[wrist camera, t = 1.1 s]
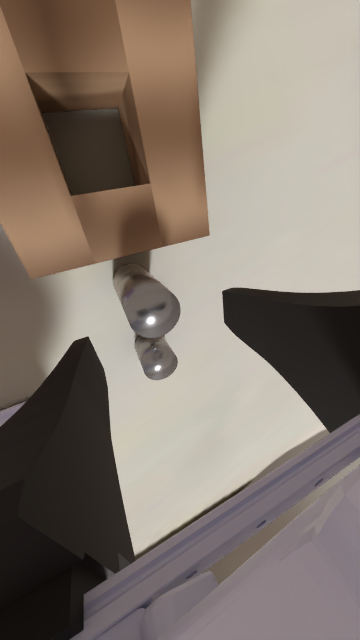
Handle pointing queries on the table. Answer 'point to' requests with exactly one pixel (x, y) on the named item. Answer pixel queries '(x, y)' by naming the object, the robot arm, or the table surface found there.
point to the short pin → (155, 357)
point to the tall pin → (146, 301)
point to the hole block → (88, 94)
